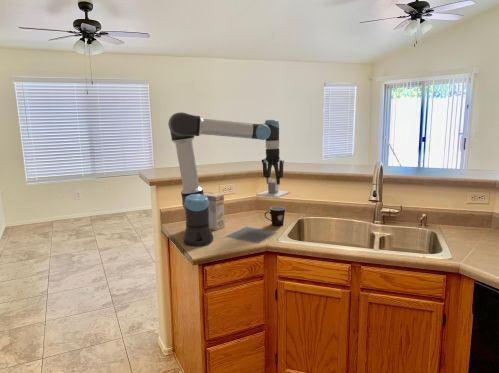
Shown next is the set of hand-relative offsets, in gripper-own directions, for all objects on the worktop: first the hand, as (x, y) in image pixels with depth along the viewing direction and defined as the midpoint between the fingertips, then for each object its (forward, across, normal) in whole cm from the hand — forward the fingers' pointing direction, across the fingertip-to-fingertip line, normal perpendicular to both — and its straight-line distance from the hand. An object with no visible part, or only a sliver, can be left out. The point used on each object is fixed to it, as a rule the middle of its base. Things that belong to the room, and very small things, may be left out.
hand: (273, 189), depth 205 cm
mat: (+21, +2, +20) cm, 29 cm away
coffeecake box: (+21, +30, +20) cm, 42 cm away
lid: (+3, 0, 0) cm, 3 cm away
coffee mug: (+22, 0, -2) cm, 22 cm away
